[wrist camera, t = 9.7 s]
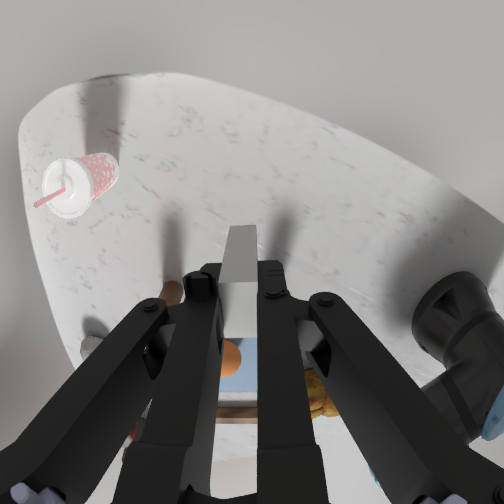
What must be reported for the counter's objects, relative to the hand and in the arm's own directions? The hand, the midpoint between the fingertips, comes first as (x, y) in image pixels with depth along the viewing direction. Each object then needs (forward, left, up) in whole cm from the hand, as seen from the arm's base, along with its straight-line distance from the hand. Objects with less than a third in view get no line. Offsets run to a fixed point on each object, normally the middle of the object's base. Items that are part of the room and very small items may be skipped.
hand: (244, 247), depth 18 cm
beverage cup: (+17, -2, -18) cm, 25 cm away
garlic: (+25, +25, -18) cm, 40 cm away
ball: (+4, +24, -15) cm, 29 cm away
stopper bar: (+4, +41, -18) cm, 45 cm away
